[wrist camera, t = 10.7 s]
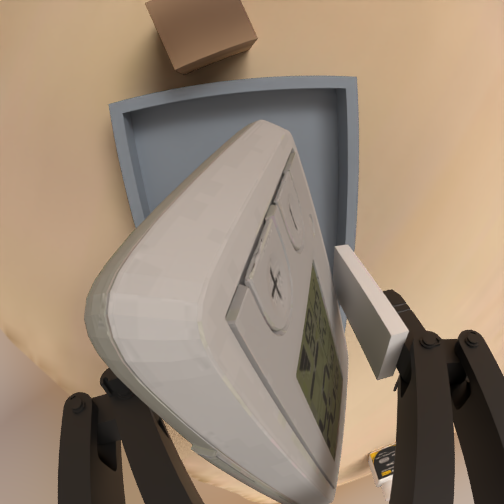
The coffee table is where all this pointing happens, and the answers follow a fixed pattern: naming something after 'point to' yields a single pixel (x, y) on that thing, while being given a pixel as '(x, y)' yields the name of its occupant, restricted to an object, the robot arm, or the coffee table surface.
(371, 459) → the medicine bottle
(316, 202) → the tray
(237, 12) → the walnut cube
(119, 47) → the coffee table surface
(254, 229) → the digital clock
